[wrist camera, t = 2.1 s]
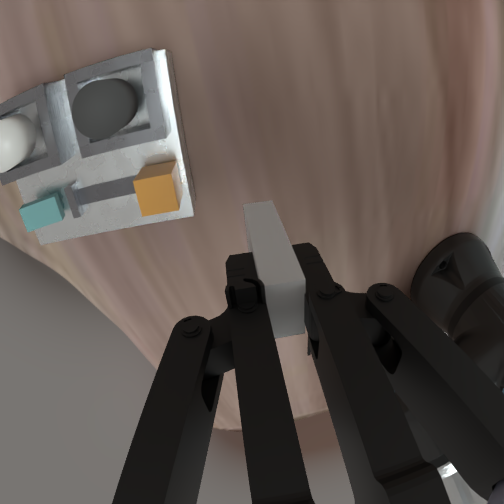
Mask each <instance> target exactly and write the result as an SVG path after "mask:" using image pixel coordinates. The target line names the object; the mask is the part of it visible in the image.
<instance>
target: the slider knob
mask: <svg viewBox="0 0 504 504" xmlns="http://www.w3.org/2000/svg"><path fill="white" fill-rule="evenodd" d="M133 184H134V188H135V192H136V196H137V200H138V203H139V207H140V211H141V214H142V217H144V216H150V215H155V214H161V213H167V212H173V211H178V210H179V209H180V204H181V200H182V195H183V191H182V186H181V182H180V177H179V172H178V167H177V162H176V161H171V162H166V163H161V164H156V165H151V166H146V167H142V168H141V170H140V171H139V173H138V174H137V176H136V177H135V179H134V180H133Z"/></svg>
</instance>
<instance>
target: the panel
mask: <svg viewBox="0 0 504 504" xmlns="http://www.w3.org/2000/svg"><path fill="white" fill-rule="evenodd" d="M110 78H119V79H123V80H125V81H127V82H129V83H130V84H131V85H132V86H133V87H134V89H135V91H136V93H137V96H138V109H137V112H136V115H135V117H134V118H133V120H132V121H131V122H130V123H129V124H128V125H127V126H125V127H124V128H122V129H121V130H119V131H118V132H116V133H115V134H113V135H112V136H110V137H108V138H105V139H91V138H88V137H86V136H84V135H83V134H81V133H80V132H79V131H78V129H77V128H76V126H75V125H74V122H73V119H72V104H73V101H74V98H75V96H76V95H77V93H78V92H79V90H80V89H81V88H82V87H84V86H85V85H86V84H88V83H90V82H92V81H96V80H102V79H110ZM16 114H22V115H25V116H27V117H28V118H29V119H30V120H31V121H32V122H33V124H34V126H35V129H36V134H37V140H36V146H35V149H34V151H33V152H32V154H31V155H30V156H29V157H28V158H26V159H25V160H23V161H22V162H20V163H19V164H17V165H15V166H14V167H12V168H11V169H9V170H8V171H6V172H3V173H0V180H1V183H2V185H5V184H8V183H10V182H13V181H17V184H18V187H19V190H20V193H21V196H22V199H23V202H24V204H26V203H29V202H32V201H34V200H37V199H40V198H42V197H45V196H48V195H51V194H53V193H56V192H57V193H58V196H59V199H60V202H61V205H62V207H63V210H64V213H65V217H64V219H63V220H62V221H59V222H56V223H53V224H50V225H47V226H44V227H41V228H39V229H36V230H35V233H36V235H37V238H38V240H39V242H40V245H44V244H48V243H53V242H57V241H62V240H67V239H72V238H77V237H82V236H86V235H91V234H97V233H102V232H107V231H112V230H117V229H123V228H128V227H134V226H139V225H145V224H150V223H156V222H162V221H167V220H173V219H179V218H185V217H192V216H194V212H195V204H196V196H195V191H194V186H193V181H192V175H191V170H190V164H189V159H188V153H187V148H186V142H185V136H184V131H183V125H182V119H181V113H180V107H179V100H178V94H177V88H176V81H175V74H174V68H173V61H172V54H171V52H170V51H168V50H166V49H163V50H156V49H153V48H149V49H145V50H141V51H137V52H133V53H129V54H126V55H122V56H118V57H115V58H112V59H108V60H105V61H102V62H99V63H96V64H93V65H90V66H87V67H84V68H81V69H78V70H76V71H73V72H70V73H68V74H65V75H64V79H63V80H60V81H55V82H49V83H43V84H41V85H38V86H36V87H34V88H32V89H30V90H27V91H25V92H23V93H21V94H19V95H17V96H15V97H13V98H11V99H9V100H7V101H5V102H3V103H1V104H0V120H2V119H5V118H8V117H10V116H13V115H16ZM171 161H176V162H177V167H178V172H179V177H180V182H181V186H182V191H183V195H182V200H181V204H180V209H179V210H178V211H173V212H167V213H161V214H155V215H150V216H144V217H142V214H141V211H140V207H139V203H138V200H137V196H136V192H135V188H134V184H133V180H134V179H135V177H136V176H137V174H138V173H139V171H140V170H141V168H142V167H146V166H151V165H156V164H161V163H166V162H171Z"/></svg>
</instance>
